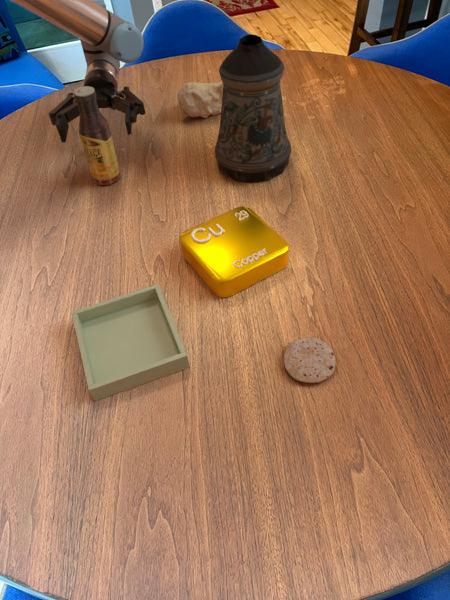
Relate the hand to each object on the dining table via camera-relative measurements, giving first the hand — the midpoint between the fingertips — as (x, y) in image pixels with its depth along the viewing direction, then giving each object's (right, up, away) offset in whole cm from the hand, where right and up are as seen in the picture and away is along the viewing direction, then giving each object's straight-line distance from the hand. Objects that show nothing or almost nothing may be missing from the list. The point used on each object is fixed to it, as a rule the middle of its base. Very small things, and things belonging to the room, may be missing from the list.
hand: (95, 132), depth 97 cm
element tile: (+28, -27, -11) cm, 40 cm away
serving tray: (+12, -41, -22) cm, 48 cm away
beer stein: (+32, -3, +9) cm, 34 cm away
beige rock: (+24, +14, +25) cm, 37 cm away
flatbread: (+39, -43, -26) cm, 64 cm away
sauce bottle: (+1, -8, +8) cm, 11 cm away
